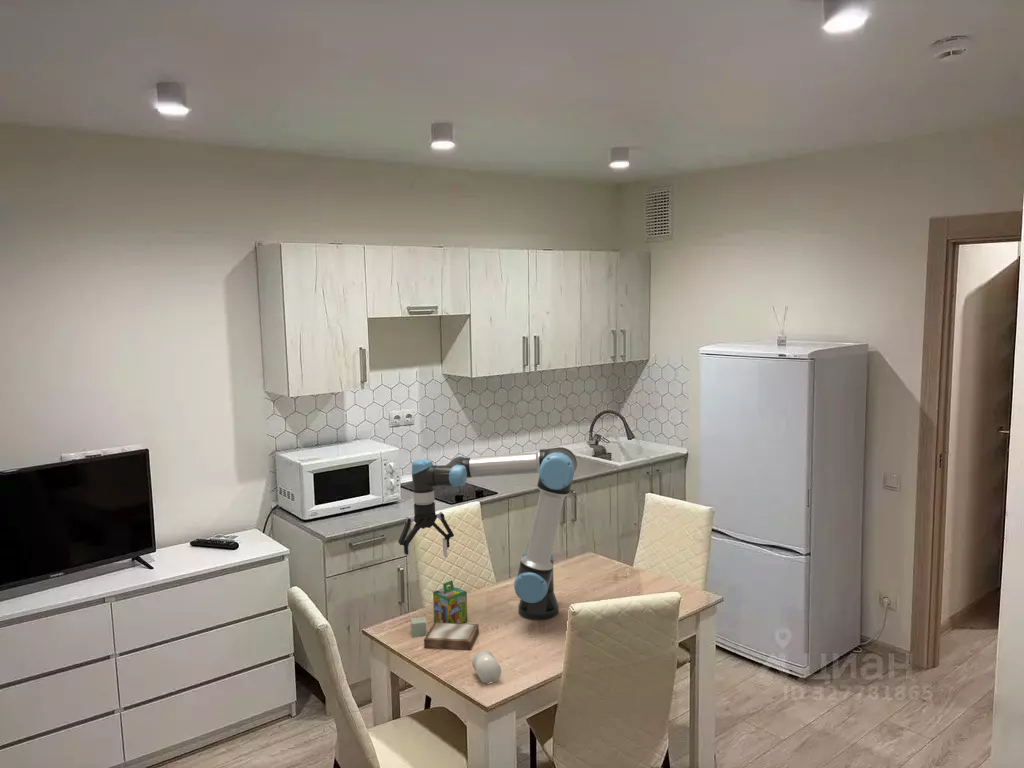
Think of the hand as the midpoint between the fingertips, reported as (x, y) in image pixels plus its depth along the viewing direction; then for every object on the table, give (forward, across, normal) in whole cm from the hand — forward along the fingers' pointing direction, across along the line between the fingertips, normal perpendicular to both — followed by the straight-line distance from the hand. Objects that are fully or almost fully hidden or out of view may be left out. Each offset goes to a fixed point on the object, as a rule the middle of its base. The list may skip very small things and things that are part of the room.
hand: (427, 559), depth 274 cm
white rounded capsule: (+21, -4, +44) cm, 49 cm away
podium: (+24, -2, +18) cm, 30 cm away
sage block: (+24, +7, +8) cm, 26 cm away
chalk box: (+24, -6, +3) cm, 25 cm away
